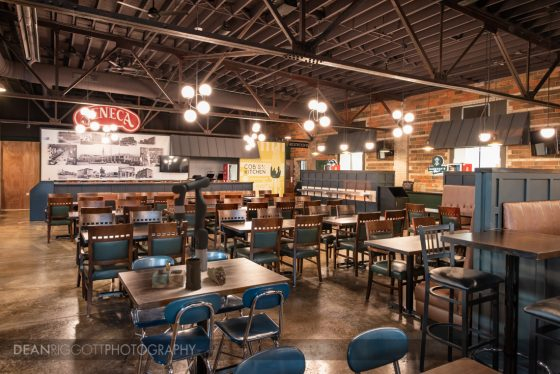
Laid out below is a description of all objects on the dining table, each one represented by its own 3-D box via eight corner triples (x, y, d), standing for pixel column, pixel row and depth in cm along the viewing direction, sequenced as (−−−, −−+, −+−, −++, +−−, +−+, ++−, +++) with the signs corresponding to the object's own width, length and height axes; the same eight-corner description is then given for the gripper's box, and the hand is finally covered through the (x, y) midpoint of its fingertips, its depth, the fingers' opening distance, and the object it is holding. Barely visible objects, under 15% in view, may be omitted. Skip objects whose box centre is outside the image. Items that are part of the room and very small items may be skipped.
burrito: (215, 286, 252) (215, 271, 251) (204, 277, 275) (204, 263, 275) (229, 284, 256) (229, 270, 256) (216, 275, 280) (216, 262, 280)
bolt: (170, 272, 257) (170, 262, 257) (169, 273, 254) (169, 263, 254) (157, 272, 256) (157, 263, 255) (157, 273, 253) (157, 264, 253)
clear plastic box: (185, 281, 264) (184, 265, 264) (183, 286, 250) (182, 270, 250) (155, 282, 261) (155, 267, 261) (152, 288, 247) (152, 271, 247)
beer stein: (186, 285, 253) (186, 257, 251) (202, 285, 253) (202, 256, 252) (182, 294, 237) (182, 263, 235) (199, 293, 238) (199, 263, 236)
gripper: (183, 212, 261) (184, 235, 261) (185, 211, 275) (185, 232, 275) (172, 212, 260) (173, 235, 260) (175, 211, 274) (175, 233, 274)
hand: (179, 234), depth 268 cm, fingers open, 8 cm apart
